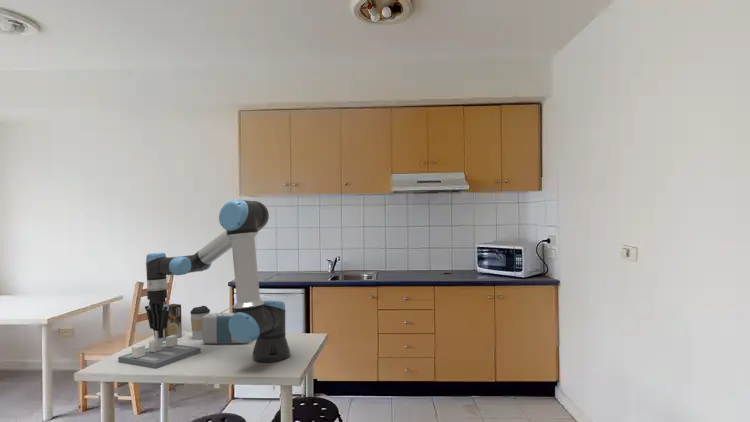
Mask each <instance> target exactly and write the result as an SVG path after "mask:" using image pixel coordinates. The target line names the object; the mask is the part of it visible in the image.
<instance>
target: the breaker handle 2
mask: <svg viewBox="0 0 750 422" xmlns="http://www.w3.org/2000/svg"><path fill="white" fill-rule="evenodd" d="M165 343H166V346H167V347H172V346H175V345H179V344H178V338H177V336H176V335H171V336H168V337H166V341H165Z"/></svg>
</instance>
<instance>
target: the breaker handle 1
mask: <svg viewBox="0 0 750 422" xmlns="http://www.w3.org/2000/svg"><path fill="white" fill-rule="evenodd" d="M145 349H146V345H144V344H137V345H134V346H131V353H132V357H135V358H138V357H141V356H144V355H145Z"/></svg>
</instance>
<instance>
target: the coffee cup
mask: <svg viewBox="0 0 750 422" xmlns="http://www.w3.org/2000/svg"><path fill="white" fill-rule="evenodd" d="M209 313H211V309H210V308H208V306H207V305H201V306H196V307H192V309H191V310H190V312H189V314H190V323H191V325H190V326H191V331H192V334H191V335H192V339H193V340H198V341H199V340H201V341H202V340H203V338H202V318H203V316H205V315H207V314H209Z"/></svg>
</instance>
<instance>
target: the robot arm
mask: <svg viewBox="0 0 750 422" xmlns="http://www.w3.org/2000/svg"><path fill="white" fill-rule="evenodd" d="M218 215H219V216H218V221H219V222H218V223H219V224H220V226H221V227H222V229H224V231H223V232H222V233H220V234H219V235H218V236H217V237H215V238H214V239H213V240H211V241H210V242H208V243H207V244H206V245H204V247H202V248H200V249H199V250H198V251H197V252H196V253H194V254H191V255H190V254H189V255H181V256H169V257H168V256H167V255H166V252H152V253H147V254H146V259H145V265H146V266H145V268H146V269H145V270H146V284H147V285H146V286H147V287H146V289H147V291H146V298H147V300H148V301H149V302H148V305H146V306H144V309H145V311H146V315H147V321H148V324H149V325H148V326H149V328H150V330H151V329H152V330H153V337H154V340H155V347H158V346H161V345H163V343H164V341H163V329H165V328H167V323H168V316H169V311H170V308H171V306H168V305H169V304H167V301H166V298H168V290H167V288H168V283H167V281H168V280H167V279H168V277H167V276H183V275H187V274H190V273H195V272H196V273H197V272H203V271H207V270H208V269H210V267H211V265H212V263H214V261H216V260H217V259H219V258H220V257H221V256H223V255H224V254H225V253H227V252H228V251H230V250H231V249H232V259H233V261H232V262H233V270H234V283H235V292H236V293H235V294H236V303H235V304H234V305H235V306H234V305H233V306H234V307H232V308H233V313H234V315H232V317H231V319H230V320H229V331H230V333H231V335H232V336H233V337H234V338H235V339H236V340H237V341H239V342H244V343H245V344H247V343H250V342H253V341H255V343H254V347H253V351H252V360H253V361H255V362H258V363H274V362H280V361H283V360H286V359H288V358H290V356H291V350H290V347H289V343H288V340H287V336H286V335H287V334H286V305H285V302H283V301H281V300H262V299H261V295H260V294H261V292H260V285H259V284H260V282H259V273H258V263H257V252H256V251H257V250H256V241H255V237H256V236H257V235H258V234H259V233H258V232H259V231H261V230H262V229H263V228H264V227H266V225H267V224H268V222H269V219H270V214H269V210H268V207H266V205H265V204H263V203H262V202H260V201H255V200H247V199H235V200H234V199H231V200H229V201H227V202H226V203H224V204H223V206H222V207H221V208H220V210H219V213H218ZM244 343H243V344H244Z"/></svg>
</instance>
